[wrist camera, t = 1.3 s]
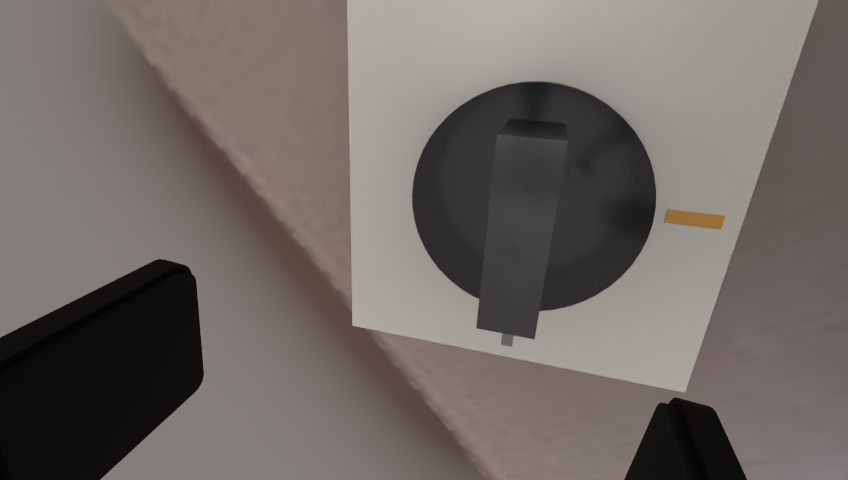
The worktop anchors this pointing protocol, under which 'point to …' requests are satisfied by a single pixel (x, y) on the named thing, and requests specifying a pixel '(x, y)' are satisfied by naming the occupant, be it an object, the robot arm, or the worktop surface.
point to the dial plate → (625, 93)
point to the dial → (533, 200)
